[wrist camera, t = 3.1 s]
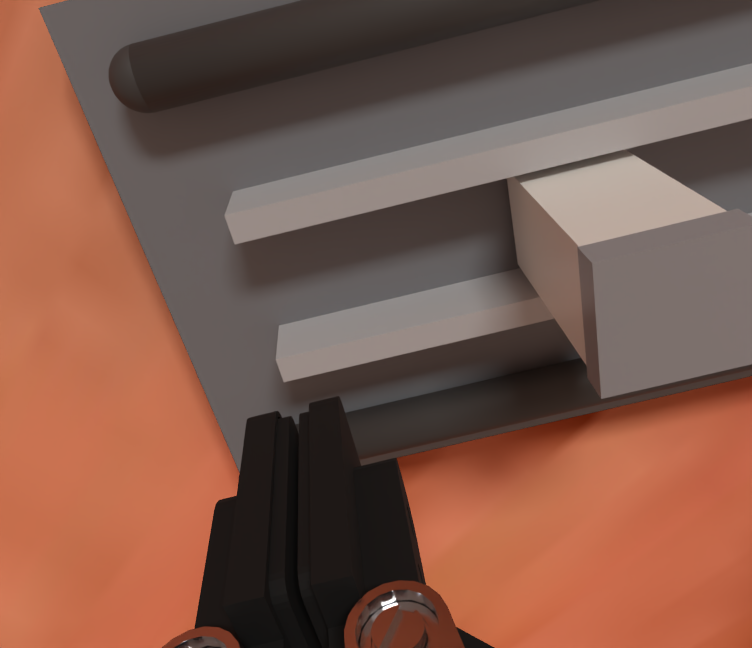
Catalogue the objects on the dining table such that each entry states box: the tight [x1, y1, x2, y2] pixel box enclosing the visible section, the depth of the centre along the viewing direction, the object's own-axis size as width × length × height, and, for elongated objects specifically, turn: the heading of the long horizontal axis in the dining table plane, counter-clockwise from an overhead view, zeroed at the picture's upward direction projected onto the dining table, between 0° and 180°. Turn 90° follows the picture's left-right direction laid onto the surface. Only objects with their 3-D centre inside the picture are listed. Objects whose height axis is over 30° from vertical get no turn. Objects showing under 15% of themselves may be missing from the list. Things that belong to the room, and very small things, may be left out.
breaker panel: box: [39, 0, 752, 472], centre depth 19 cm, size 24×16×4 cm, turn 103°
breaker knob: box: [507, 150, 752, 399], centre depth 16 cm, size 3×3×7 cm
